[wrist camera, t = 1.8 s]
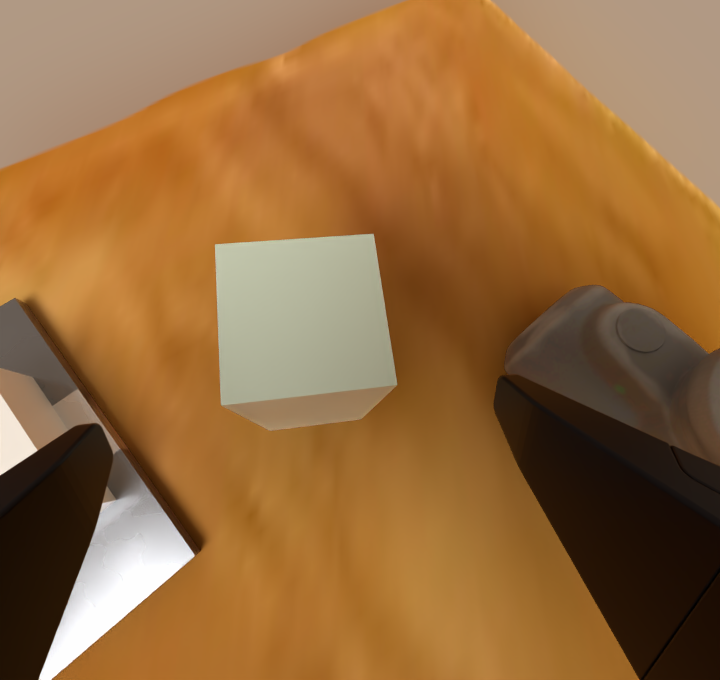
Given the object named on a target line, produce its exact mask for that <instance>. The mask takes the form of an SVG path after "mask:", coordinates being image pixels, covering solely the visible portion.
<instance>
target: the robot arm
mask: <svg viewBox="0 0 720 680" xmlns="http://www.w3.org/2000/svg"><path fill="white" fill-rule="evenodd" d="M494 411H495V414H496V416H497V419H498V421H499V423H500V425H501V428H502V430H503V432H504V435H505V437H506V439H507V442H508V444H509V446H510V449H511V451H512V453H513V456H514V458H515V460H516V462H517V464H518V466H519V468H520V470H521V472H522V474H523V476H524V477H525V479H526V481H527V483H528V485H529V486H530V488H531V490H532V492H533V493H534V495H535V497H536V499H537V500H538V502H539V504H540V506H541V507H542V509H543V511H544V513H545V514H546V516H547V518H548V520H549V521H550V523H551V525H552V527H553V529H554V530H555V532H556V534H557V536H558V537H559V539H560V541H561V543H562V544H563V546H564V548H565V550H566V551H567V553H568V555H569V557H570V558H571V560H572V562H573V564H574V565H575V567H576V569H577V571H578V572H579V574H580V576H581V578H582V580H583V581H584V583H585V585H586V587H587V588H588V590H589V592H590V594H591V595H592V597H593V599H594V601H595V602H596V604H597V606H598V608H599V609H600V611H601V613H602V615H603V616H604V618H605V620H606V622H607V623H608V625H609V627H610V629H611V631H612V632H613V634H614V636H615V638H616V639H617V641H618V643H619V645H620V646H621V648H622V650H623V652H624V653H625V655H626V657H627V659H628V660H629V662H630V664H631V666H632V667H633V669H634V671H635V673H636V675H637V676H638V678H639V679H640V680H720V466H718V465H716V464H714V463H711V462H709V461H707V460H705V459H702V458H700V457H698V456H695V455H693V454H691V453H689V452H687V451H684V450H682V449H680V448H678V447H676V446H674V445H671V446H670V445H669V444H668V443H667V442H665V441H663V440H660V439H658V438H656V437H654V436H652V435H649V434H647V433H645V432H643V431H641V430H638V429H636V428H634V427H632V426H630V425H627V424H625V423H623V422H621V421H619V420H616V419H614V418H612V417H610V416H608V415H606V414H603V413H601V412H599V411H597V410H595V409H592V408H590V407H588V406H586V405H584V404H581V403H579V402H577V401H575V400H573V399H570V398H568V397H566V396H564V395H562V394H560V393H557V392H555V391H553V390H551V389H549V388H546V387H544V386H542V385H540V384H538V383H535V382H533V381H531V380H529V379H527V378H525V377H522V376H520V375H518V374H510V375H502V376H500V377H499V378H498V381H497V386H496V392H495V398H494ZM112 464H113V451H112V448H111V446H110V444H109V442H108V439H107V437H106V435H105V433H104V430H103V428H102V427H101V425H100V424H98V423H89V424H80V425H76V426H74V427H72V428H71V429H69V430H68V431H66V432H65V433H63V434H62V435H60V436H59V437H57V438H56V439H54V440H53V441H51V442H50V443H48V444H47V445H45V446H44V447H42V448H41V449H39V450H38V451H36V452H35V453H33V454H32V455H30V456H29V457H27V458H26V459H24V460H23V461H21V462H20V463H18V464H17V465H15V466H13V467H12V468H10V469H9V470H7V471H6V472H4V473H3V474H1V475H0V680H39V677H40V674H41V672H42V669H43V667H44V664H45V661H46V659H47V656H48V653H49V651H50V648H51V645H52V643H53V640H54V638H55V635H56V632H57V630H58V627H59V624H60V622H61V619H62V617H63V614H64V611H65V609H66V606H67V603H68V601H69V598H70V595H71V593H72V590H73V588H74V585H75V582H76V580H77V577H78V574H79V572H80V569H81V566H82V564H83V561H84V559H85V556H86V553H87V551H88V548H89V545H90V543H91V540H92V537H93V534H94V532H95V529H96V525H97V522H98V518H99V515H100V511H101V507H102V503H103V499H104V495H105V491H106V487H107V483H108V479H109V476H110V472H111V468H112Z"/></svg>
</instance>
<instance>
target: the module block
mask: <svg viewBox="0 0 720 680" xmlns="http://www.w3.org/2000/svg"><path fill="white" fill-rule="evenodd" d="M215 257H216V284H217V311H218V338H219V364H220V391H221V406H223V407H225V408H227V409H229V410H231V411H233V412H235V413H236V414H238V415H240V416H242V417H244V418H246V419H248V420H250V421H252V422H254V423H256V424H258V425H260V426H262V427H264V428H265V429H267V430H269V431H273V430H281V429H289V428H297V427H305V426H313V425H321V424H329V423H337V422H345V421H353V420H360V419H362V418H363V417H364V416H365V415H366V414H367V413H368V412H369V411H370V410H372V409H373V408H374V407H375V406H376V405H377V404H378V403H379V402H380V401H381V400H382V399H383V398H384V397H385V396H386V395H387V394H388V393H389V392H391V391H392V390H393V389H394V388H395V387H396V386H397V379H396V373H395V366H394V360H393V354H392V347H391V341H390V335H389V328H388V322H387V316H386V309H385V303H384V297H383V290H382V284H381V278H380V271H379V265H378V259H377V252H376V246H375V240H374V234H363V235H348V236H333V237H318V238H303V239H288V240H274V241H259V242H244V243H229V244H215Z"/></svg>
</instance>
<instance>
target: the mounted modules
mask: <svg viewBox="0 0 720 680" xmlns="http://www.w3.org/2000/svg"><path fill="white" fill-rule="evenodd" d="M66 431H68V429H67V427H66V426H65V425H64V423H63V422H62V420H61V419H60V417H59V416H58V414H57V413H56V411H55V410H54V408H53V407H52V405H51V403H50V402H49V400H48V399H47V397H46V396H45V394H44V393H43V392H42V390H41V389H40V387H39V386H38V384H37V383H36V381H35V380H34V378H33V377H31V376H27V375H24V374H20V373H16V372H13V371H9V370H6V369H2V368H0V475H1V474H3V473H4V472H6V471H7V470H9V469H10V468H12V467H13V466H15V465H17V464H18V463H20V462H21V461H23V460H24V459H26V458H27V457H29V456H30V455H32V454H33V453H35V452H36V451H38V450H39V449H41V448H42V447H44V446H45V445H47V444H48V443H50V442H51V441H53V440H54V439H56V438H57V437H59V436H60V435H62V434H63V433H65V432H66ZM115 501H116V499H115V497H114V496H113V494H112V493H111V491H110V490H109V488H108V487H106V491H105V495H104V499H103V503H102V507H101V511H100V512H102V511H103V510H104V509H106V508H107V507H108V506H110V505H111V504H112V503H113V502H115Z"/></svg>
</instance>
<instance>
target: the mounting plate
mask: <svg viewBox="0 0 720 680" xmlns="http://www.w3.org/2000/svg"><path fill="white" fill-rule="evenodd" d="M0 368H2V369H6V370H9V371H13V372H16V373H20V374H24V375H27V376H31V377H33V378H34V380H35V381H36V383H37V384H38V386H39V387H40V389H41V390H42V392H43V393H44V394H45V396H46V397H47V399H48V400H49V402H50V403H51V405H52V407H53V408H54V410H55V411H56V413H57V414H58V416H59V417H60V419H61V420H62V422H63V423H64V425H65V426H66V427H67V429H68V430H69V429H71V428H72V427H74V426H76V425H80V424H89V423H98V424H100V425H101V427H102V428H103V430H104V433H105V435H106V437H107V439H108V442H109V444H110V446H111V448H112V451H113V464H112V468H111V472H110V476H109V479H108V483H107V487H108V488H109V490H110V491H111V493H112V494H113V496H114V497H115V499H116V501H115V502H113V503H112V504H111V505H110V506H108V507H107V508H106V509H104V510H103V511H102V512H100V515H99V518H98V522H97V525H96V529H95V532H94V534H93V537H92V540H91V543H90V545H89V548H88V551H87V553H86V556H85V559H84V561H83V564H82V566H81V569H80V572H79V574H78V577H77V580H76V582H75V585H74V588H73V590H72V593H71V595H70V598H69V601H68V603H67V606H66V609H65V611H64V614H63V617H62V619H61V622H60V624H59V627H58V630H57V632H56V635H55V638H54V640H53V643H52V645H51V648H50V651H49V653H48V656H47V659H46V661H45V664H44V667H43V669H42V672H41V674H40V677H39V680H51V679H53V678H54V677H55V676H56V675H57V674H58V673H60V672H61V671H62V670H63V669H64V668H65V667H67V666H68V665H69V664H70V663H71V662H72V661H74V660H75V659H76V658H77V657H78V656H79V655H81V654H82V653H83V652H84V651H85V650H86V649H88V648H89V647H90V646H91V645H92V644H93V643H94V642H96V641H97V640H98V639H99V638H100V637H101V636H103V635H104V634H105V633H106V632H107V631H108V630H110V629H111V628H112V627H113V626H114V625H115V624H117V623H118V622H119V621H120V620H121V619H122V618H124V617H125V616H126V615H127V614H128V613H129V612H131V611H132V610H133V609H134V608H135V607H136V606H138V605H139V604H140V603H141V602H142V601H143V600H145V599H146V598H147V597H148V596H149V595H150V594H152V593H153V592H154V591H155V590H156V589H157V588H159V587H160V586H161V585H162V584H163V583H164V582H166V581H167V580H168V579H169V578H170V577H171V576H173V575H174V574H175V573H176V572H177V571H178V570H179V569H181V568H182V567H183V566H184V565H185V564H186V563H188V562H189V561H190V560H191V559H192V558H193V557H195V556H196V555H197V554H198V553H199V552H200V550H199V549H198V547H197V546H196V544H195V543H194V541H193V540H192V539H191V537H190V536H189V534H188V533H187V531H186V530H185V529H184V527H183V526H182V524H181V523H180V522H179V520H178V519H177V517H176V516H175V514H174V513H173V512H172V510H171V509H170V507H169V506H168V504H167V503H166V502H165V500H164V499H163V497H162V496H161V495H160V493H159V492H158V490H157V489H156V487H155V486H154V485H153V483H152V482H151V480H150V479H149V477H148V476H147V475H146V473H145V472H144V470H143V469H142V468H141V466H140V465H139V463H138V462H137V460H136V459H135V458H134V456H133V455H132V453H131V452H130V451H129V449H128V448H127V446H126V445H125V443H124V442H123V441H122V439H121V438H120V436H119V435H118V433H117V432H116V431H115V429H114V428H113V426H112V425H111V424H110V422H109V421H108V419H107V418H106V416H105V415H104V414H103V412H102V411H101V409H100V408H99V406H98V405H97V404H96V402H95V401H94V399H93V398H92V397H91V395H90V394H89V392H88V391H87V389H86V388H85V387H84V385H83V384H82V382H81V381H80V380H79V378H78V377H77V375H76V374H75V372H74V371H73V370H72V368H71V367H70V365H69V364H68V362H67V361H66V360H65V358H64V357H63V355H62V354H61V353H60V351H59V350H58V348H57V347H56V345H55V344H54V343H53V341H52V340H51V338H50V337H49V335H48V334H47V333H46V331H45V330H44V328H43V327H42V326H41V324H40V323H39V321H38V320H37V318H36V317H35V316H34V314H33V313H32V311H31V310H30V309H29V307H28V306H27V304H25V303H23V302H21V301H20V300H18V299H16V298H14V299H12V300H10V301H9V302H7V303H5V304H4V305H2V306H0Z"/></svg>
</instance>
